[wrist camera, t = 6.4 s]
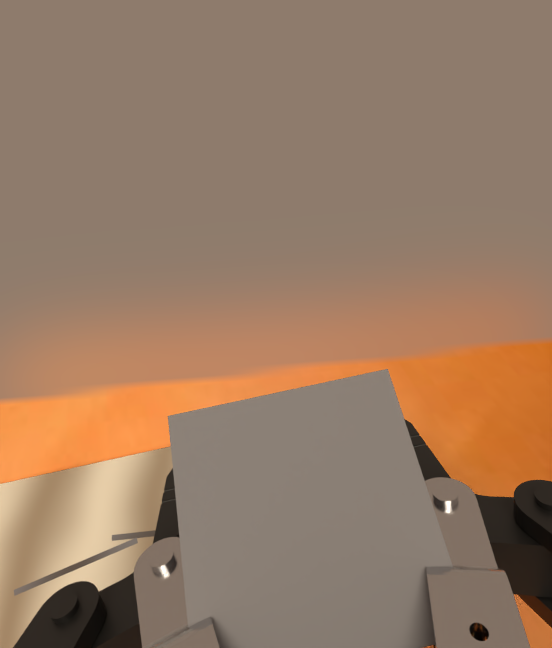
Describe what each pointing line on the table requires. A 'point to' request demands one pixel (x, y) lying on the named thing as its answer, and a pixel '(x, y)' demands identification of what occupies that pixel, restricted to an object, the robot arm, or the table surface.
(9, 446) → the table surface
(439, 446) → the table surface
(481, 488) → the table surface
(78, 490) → the board
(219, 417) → the block
